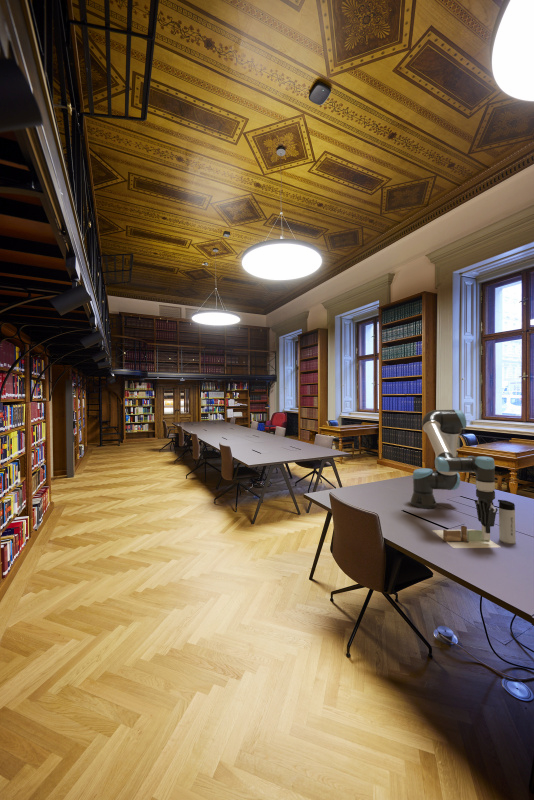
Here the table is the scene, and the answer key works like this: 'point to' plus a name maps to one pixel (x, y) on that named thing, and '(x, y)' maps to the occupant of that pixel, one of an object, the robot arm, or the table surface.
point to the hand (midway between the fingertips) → (486, 538)
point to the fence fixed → (455, 535)
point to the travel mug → (507, 522)
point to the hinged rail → (474, 535)
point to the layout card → (468, 542)
